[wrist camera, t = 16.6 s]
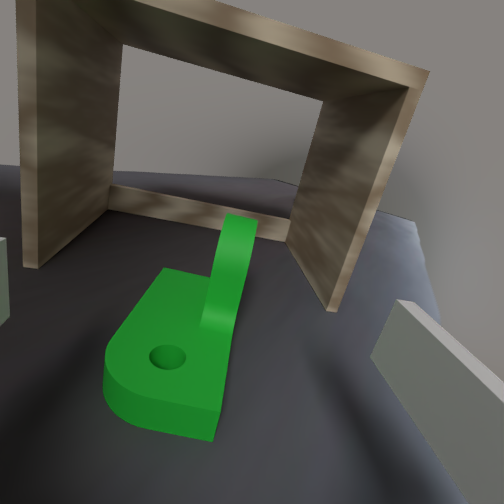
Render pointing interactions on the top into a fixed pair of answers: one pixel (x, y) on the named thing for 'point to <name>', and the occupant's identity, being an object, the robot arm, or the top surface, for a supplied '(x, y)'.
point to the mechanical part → (180, 343)
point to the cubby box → (219, 59)
